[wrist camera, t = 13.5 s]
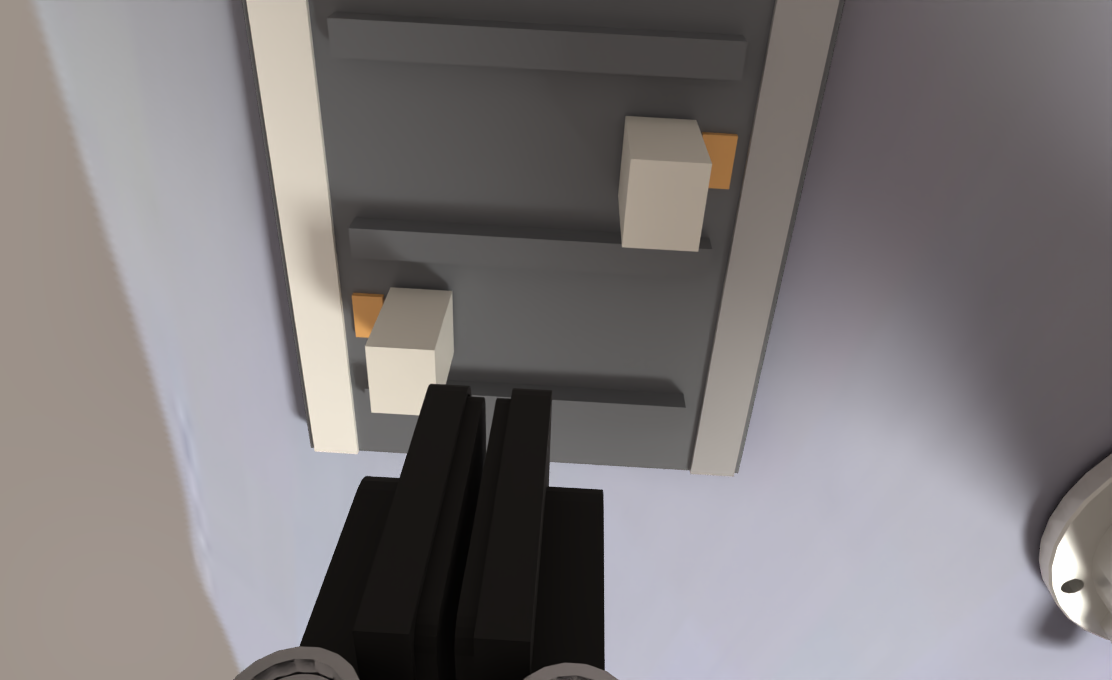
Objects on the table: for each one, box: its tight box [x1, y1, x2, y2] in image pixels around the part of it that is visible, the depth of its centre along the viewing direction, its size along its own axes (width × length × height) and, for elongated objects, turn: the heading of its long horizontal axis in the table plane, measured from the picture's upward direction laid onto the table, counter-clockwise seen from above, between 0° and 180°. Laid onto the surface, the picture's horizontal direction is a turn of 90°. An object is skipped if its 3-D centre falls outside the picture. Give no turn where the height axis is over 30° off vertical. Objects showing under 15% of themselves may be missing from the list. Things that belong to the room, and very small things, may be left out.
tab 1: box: [365, 287, 454, 415], centre depth 25 cm, size 2×2×4 cm
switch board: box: [242, 0, 845, 476], centre depth 24 cm, size 24×16×2 cm, turn 177°
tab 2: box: [618, 116, 712, 252], centre depth 22 cm, size 2×2×4 cm
